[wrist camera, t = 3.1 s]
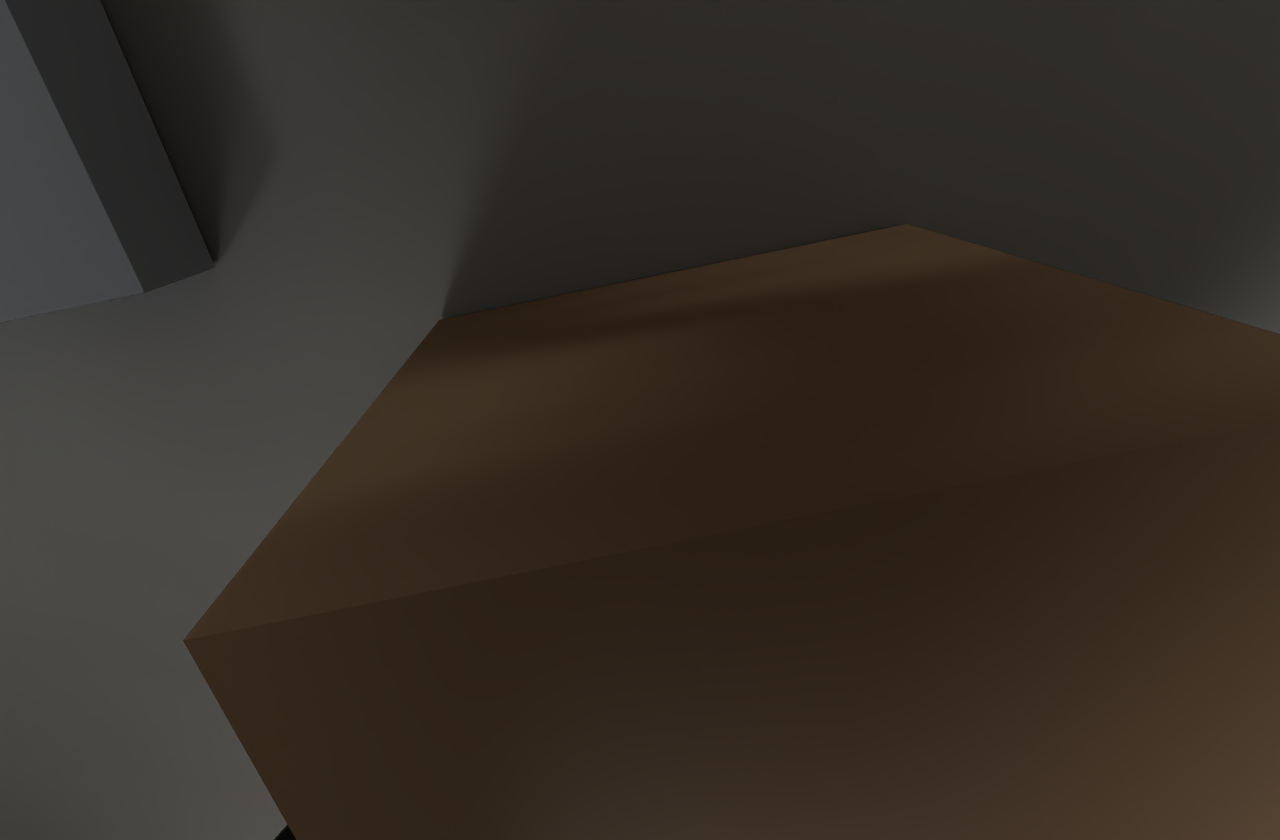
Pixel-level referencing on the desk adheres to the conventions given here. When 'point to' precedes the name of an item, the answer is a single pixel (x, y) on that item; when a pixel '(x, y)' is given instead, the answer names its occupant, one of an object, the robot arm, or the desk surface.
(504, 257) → the desk surface
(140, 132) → the baseplate
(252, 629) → the walnut brick
